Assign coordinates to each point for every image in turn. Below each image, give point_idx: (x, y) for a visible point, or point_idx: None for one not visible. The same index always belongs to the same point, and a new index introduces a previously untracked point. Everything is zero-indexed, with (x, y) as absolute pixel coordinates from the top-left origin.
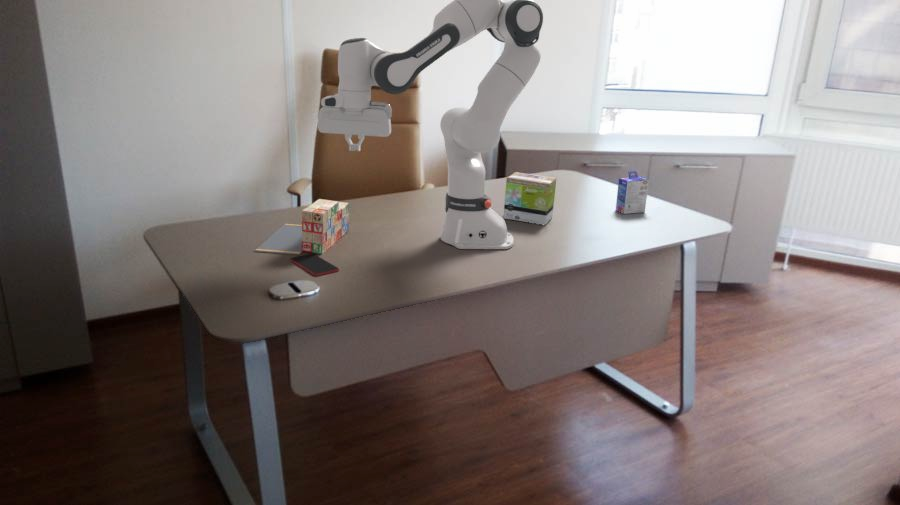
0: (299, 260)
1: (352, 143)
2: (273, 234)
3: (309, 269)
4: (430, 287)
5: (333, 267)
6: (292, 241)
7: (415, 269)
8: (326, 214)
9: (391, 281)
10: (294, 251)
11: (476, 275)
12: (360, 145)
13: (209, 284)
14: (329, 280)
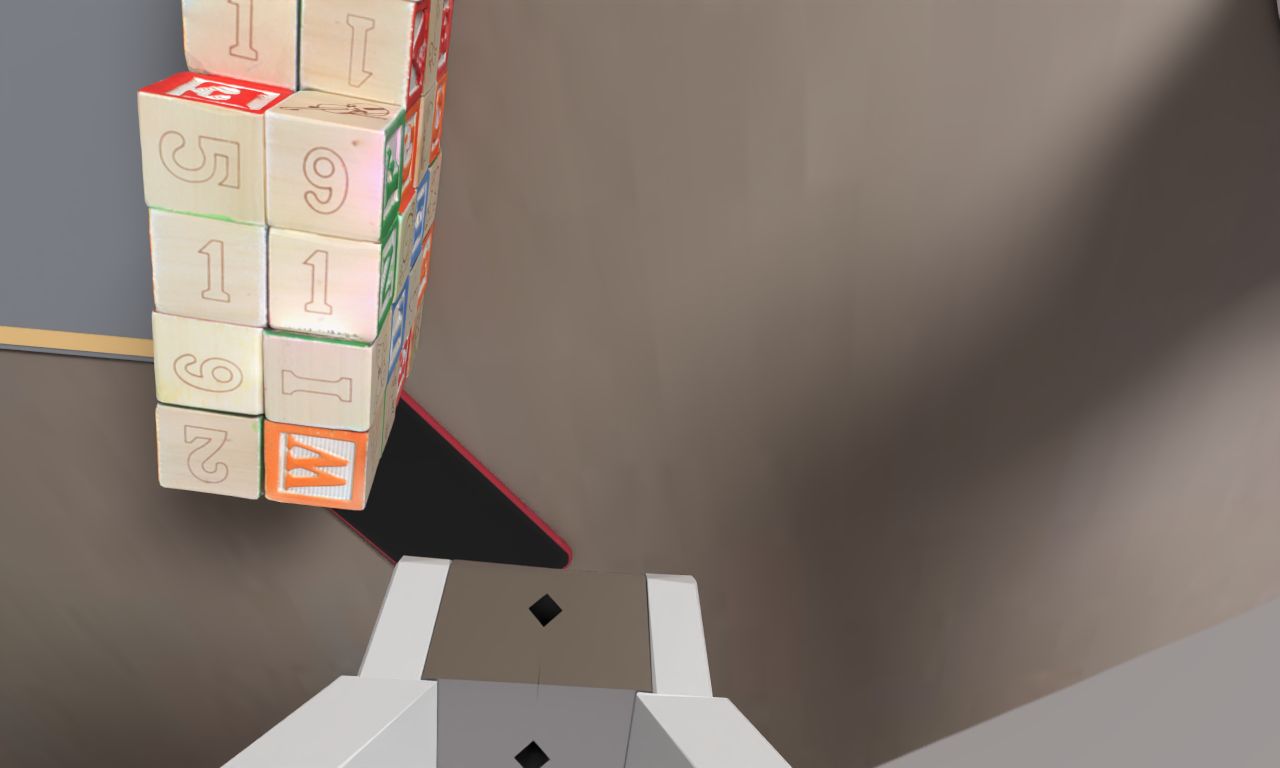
0: None
1: (436, 711)
2: None
3: None
4: (1007, 671)
5: (539, 546)
6: (125, 145)
7: (970, 501)
8: (373, 433)
9: (837, 634)
10: None
11: (1269, 541)
12: (705, 674)
13: (48, 722)
14: None
